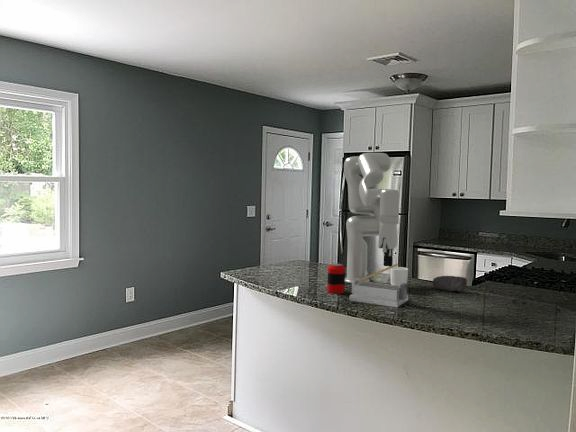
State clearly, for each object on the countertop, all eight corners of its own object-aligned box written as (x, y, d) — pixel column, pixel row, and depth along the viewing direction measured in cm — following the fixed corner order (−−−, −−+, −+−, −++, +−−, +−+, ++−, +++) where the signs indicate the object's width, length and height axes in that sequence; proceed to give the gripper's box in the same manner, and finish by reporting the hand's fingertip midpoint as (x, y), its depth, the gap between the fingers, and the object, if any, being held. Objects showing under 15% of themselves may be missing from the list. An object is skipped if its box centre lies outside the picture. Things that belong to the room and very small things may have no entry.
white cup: (396, 292, 216) (396, 270, 215) (386, 289, 223) (386, 267, 222) (411, 291, 219) (412, 269, 218) (400, 288, 226) (401, 266, 225)
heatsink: (359, 293, 213) (360, 275, 212) (410, 300, 202) (411, 281, 201) (346, 300, 201) (347, 280, 200) (399, 307, 190) (400, 287, 189)
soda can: (343, 294, 211) (344, 266, 210) (326, 293, 212) (326, 265, 211) (345, 290, 218) (346, 263, 217) (328, 289, 220) (328, 262, 219)
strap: (359, 281, 207) (358, 279, 207) (398, 265, 198) (397, 263, 199) (356, 283, 204) (355, 280, 204) (395, 266, 195) (394, 264, 195)
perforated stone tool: (430, 289, 225) (430, 274, 224) (434, 287, 229) (434, 272, 228) (463, 294, 216) (464, 278, 215) (467, 292, 220) (467, 276, 220)
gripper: (386, 219, 206) (385, 263, 206) (373, 220, 193) (372, 267, 193) (403, 219, 202) (402, 264, 203) (392, 221, 189) (391, 269, 190)
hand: (387, 265), depth 198 cm, fingers closed
